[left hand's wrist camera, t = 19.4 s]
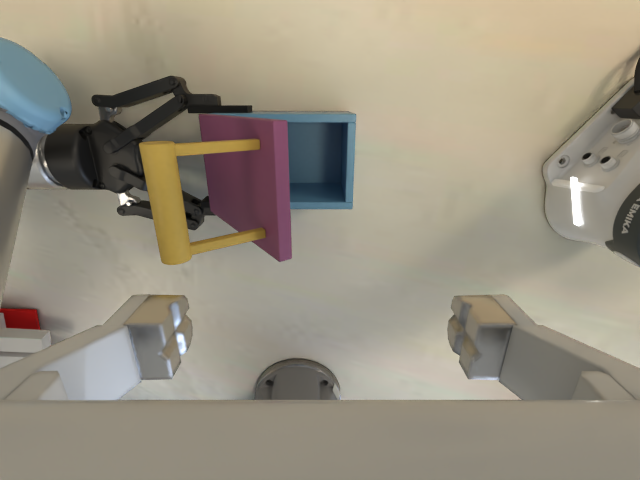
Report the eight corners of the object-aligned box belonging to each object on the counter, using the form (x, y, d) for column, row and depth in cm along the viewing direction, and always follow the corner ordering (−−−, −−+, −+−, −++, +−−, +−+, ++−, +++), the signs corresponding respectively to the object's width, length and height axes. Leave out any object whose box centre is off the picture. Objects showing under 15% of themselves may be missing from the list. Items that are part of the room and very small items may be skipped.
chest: (348, 111, 44) (356, 113, 34) (346, 187, 48) (352, 209, 38) (231, 111, 44) (205, 113, 34) (238, 187, 48) (216, 208, 38)
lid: (287, 120, 22) (142, 124, 18) (292, 258, 26) (173, 292, 21) (209, 113, 34) (110, 115, 29) (220, 209, 38) (133, 224, 33)
